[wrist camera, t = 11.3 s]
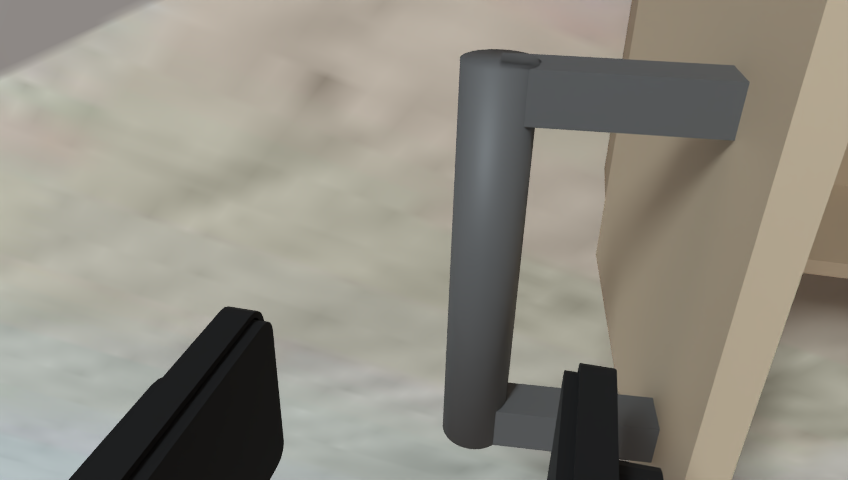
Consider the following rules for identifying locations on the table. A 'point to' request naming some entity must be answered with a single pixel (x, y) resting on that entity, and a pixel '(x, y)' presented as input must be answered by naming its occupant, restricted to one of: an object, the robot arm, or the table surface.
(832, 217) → the tan open container
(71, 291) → the table surface
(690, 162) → the door
